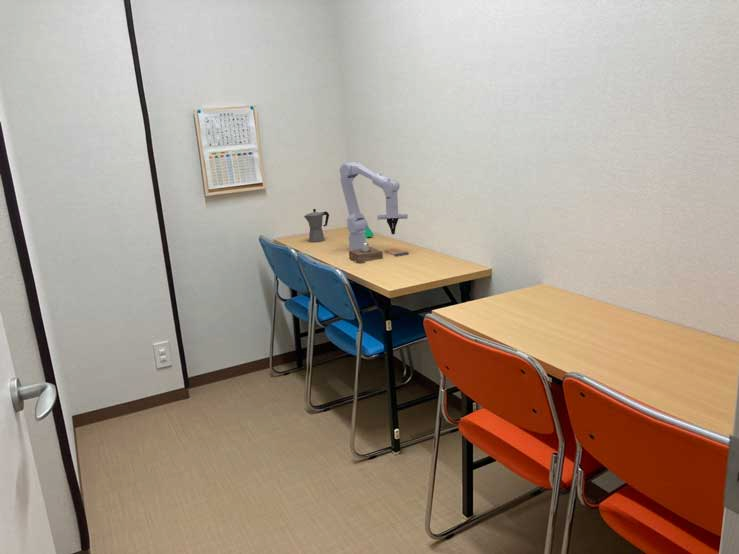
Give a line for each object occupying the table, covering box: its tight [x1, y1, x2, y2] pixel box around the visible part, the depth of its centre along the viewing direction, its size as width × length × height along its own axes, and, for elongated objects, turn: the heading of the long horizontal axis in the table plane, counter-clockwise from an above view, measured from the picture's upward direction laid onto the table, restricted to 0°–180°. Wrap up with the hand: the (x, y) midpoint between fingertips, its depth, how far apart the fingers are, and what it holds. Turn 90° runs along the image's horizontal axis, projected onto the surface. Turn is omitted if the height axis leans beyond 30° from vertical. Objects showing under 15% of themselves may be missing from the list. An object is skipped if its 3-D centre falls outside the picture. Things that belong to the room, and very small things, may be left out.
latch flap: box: [384, 247, 403, 256], centre depth 286 cm, size 11×6×1 cm, turn 26°
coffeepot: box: [303, 208, 330, 243], centre depth 326 cm, size 15×9×18 cm, turn 122°
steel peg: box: [362, 241, 370, 253], centre depth 278 cm, size 3×3×8 cm
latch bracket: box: [393, 251, 410, 258], centre depth 280 cm, size 2×7×2 cm, turn 116°
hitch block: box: [348, 246, 384, 264], centre depth 278 cm, size 12×12×4 cm
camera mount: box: [348, 226, 374, 239], centre depth 328 cm, size 12×8×10 cm, turn 109°
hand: (393, 233), depth 284 cm, fingers closed
